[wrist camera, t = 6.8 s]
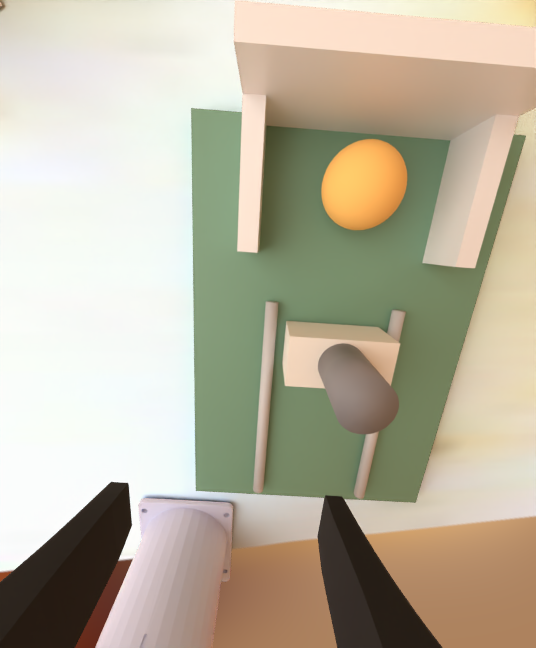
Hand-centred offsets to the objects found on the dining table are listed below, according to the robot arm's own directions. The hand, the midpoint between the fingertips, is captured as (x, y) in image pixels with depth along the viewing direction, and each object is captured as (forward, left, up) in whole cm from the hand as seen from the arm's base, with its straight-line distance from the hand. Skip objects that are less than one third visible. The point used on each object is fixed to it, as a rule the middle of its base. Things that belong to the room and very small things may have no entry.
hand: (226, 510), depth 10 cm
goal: (+13, -5, -9) cm, 17 cm away
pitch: (+3, -5, -10) cm, 12 cm away
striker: (+3, -5, -9) cm, 11 cm away
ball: (+12, -5, -7) cm, 15 cm away
